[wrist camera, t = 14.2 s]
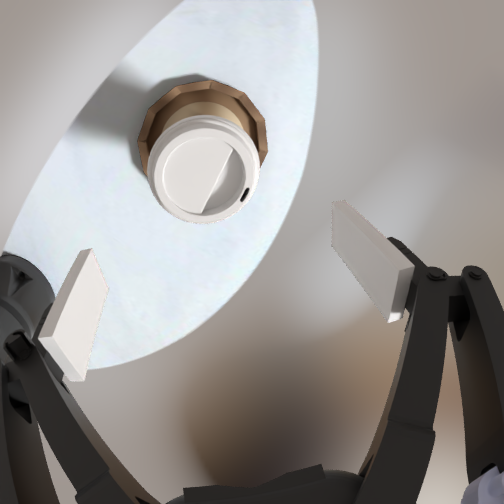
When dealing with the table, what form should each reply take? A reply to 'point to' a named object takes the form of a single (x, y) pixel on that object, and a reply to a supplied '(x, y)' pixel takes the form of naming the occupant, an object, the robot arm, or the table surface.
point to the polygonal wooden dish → (202, 103)
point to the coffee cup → (203, 169)
